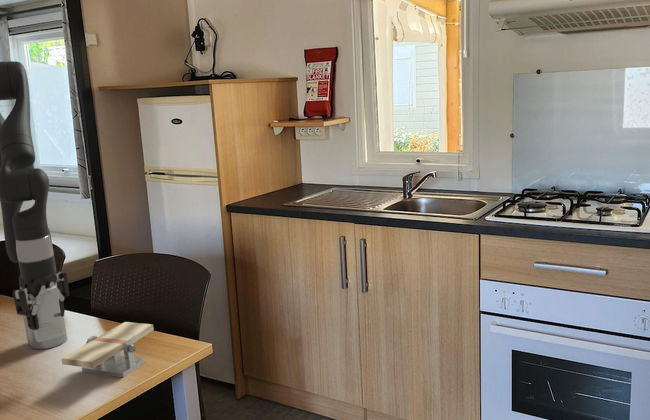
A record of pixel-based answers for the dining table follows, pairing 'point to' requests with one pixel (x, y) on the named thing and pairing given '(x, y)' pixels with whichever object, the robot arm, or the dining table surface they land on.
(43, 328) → the skincare box
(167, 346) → the dining table surface
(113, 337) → the balance beam
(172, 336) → the dining table surface
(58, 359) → the dining table surface
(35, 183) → the robot arm
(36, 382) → the dining table surface
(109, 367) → the pivot stand
